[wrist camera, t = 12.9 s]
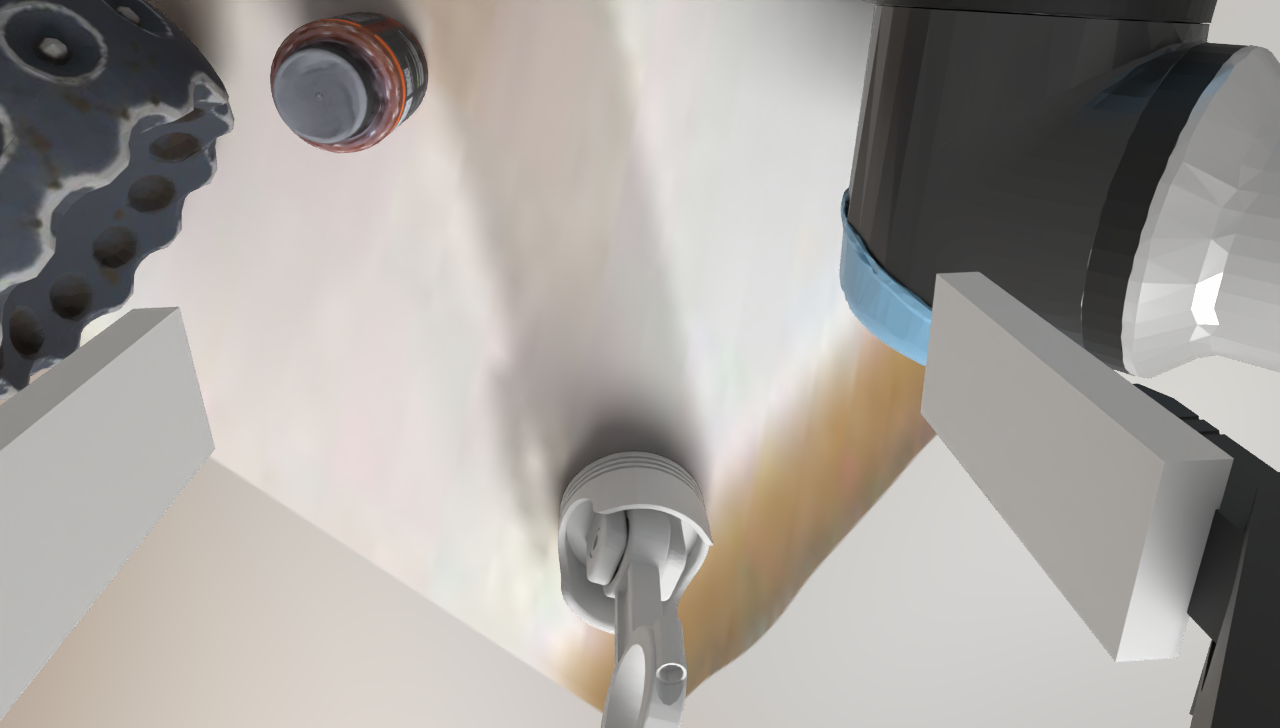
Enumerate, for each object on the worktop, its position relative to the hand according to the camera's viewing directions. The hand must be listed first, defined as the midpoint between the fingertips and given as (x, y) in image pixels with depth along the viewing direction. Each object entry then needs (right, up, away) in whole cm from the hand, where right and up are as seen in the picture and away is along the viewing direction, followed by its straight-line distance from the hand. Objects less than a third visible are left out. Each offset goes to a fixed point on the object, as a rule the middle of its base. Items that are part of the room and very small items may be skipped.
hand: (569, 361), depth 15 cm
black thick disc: (-28, +12, +33) cm, 45 cm away
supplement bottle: (-13, +16, +32) cm, 39 cm away
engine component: (0, -11, +45) cm, 46 cm away
